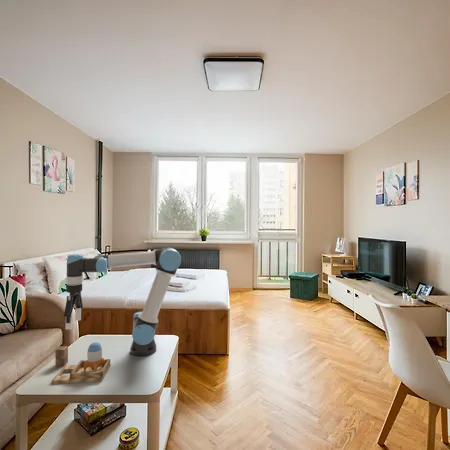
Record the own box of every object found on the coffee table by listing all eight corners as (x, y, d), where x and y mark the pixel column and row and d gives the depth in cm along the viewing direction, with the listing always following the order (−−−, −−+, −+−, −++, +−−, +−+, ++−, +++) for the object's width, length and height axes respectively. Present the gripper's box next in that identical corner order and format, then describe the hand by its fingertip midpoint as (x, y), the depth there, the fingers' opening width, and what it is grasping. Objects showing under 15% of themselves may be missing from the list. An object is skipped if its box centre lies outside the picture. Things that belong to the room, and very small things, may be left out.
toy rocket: (99, 377, 143) (92, 349, 141) (79, 379, 144) (72, 352, 142) (109, 364, 153) (103, 338, 151) (91, 366, 154) (84, 340, 152)
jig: (110, 366, 156) (110, 358, 156) (102, 380, 141) (102, 372, 141) (65, 368, 153) (65, 360, 153) (51, 383, 138) (51, 375, 138)
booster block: (67, 362, 160) (67, 346, 160) (64, 366, 155) (64, 349, 155) (59, 362, 159) (59, 346, 159) (55, 366, 155) (55, 349, 155)
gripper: (75, 279, 164) (74, 317, 164) (56, 289, 140) (55, 333, 139) (89, 279, 165) (88, 316, 165) (73, 289, 141) (72, 332, 141)
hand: (73, 324), depth 152 cm, fingers open, 13 cm apart
